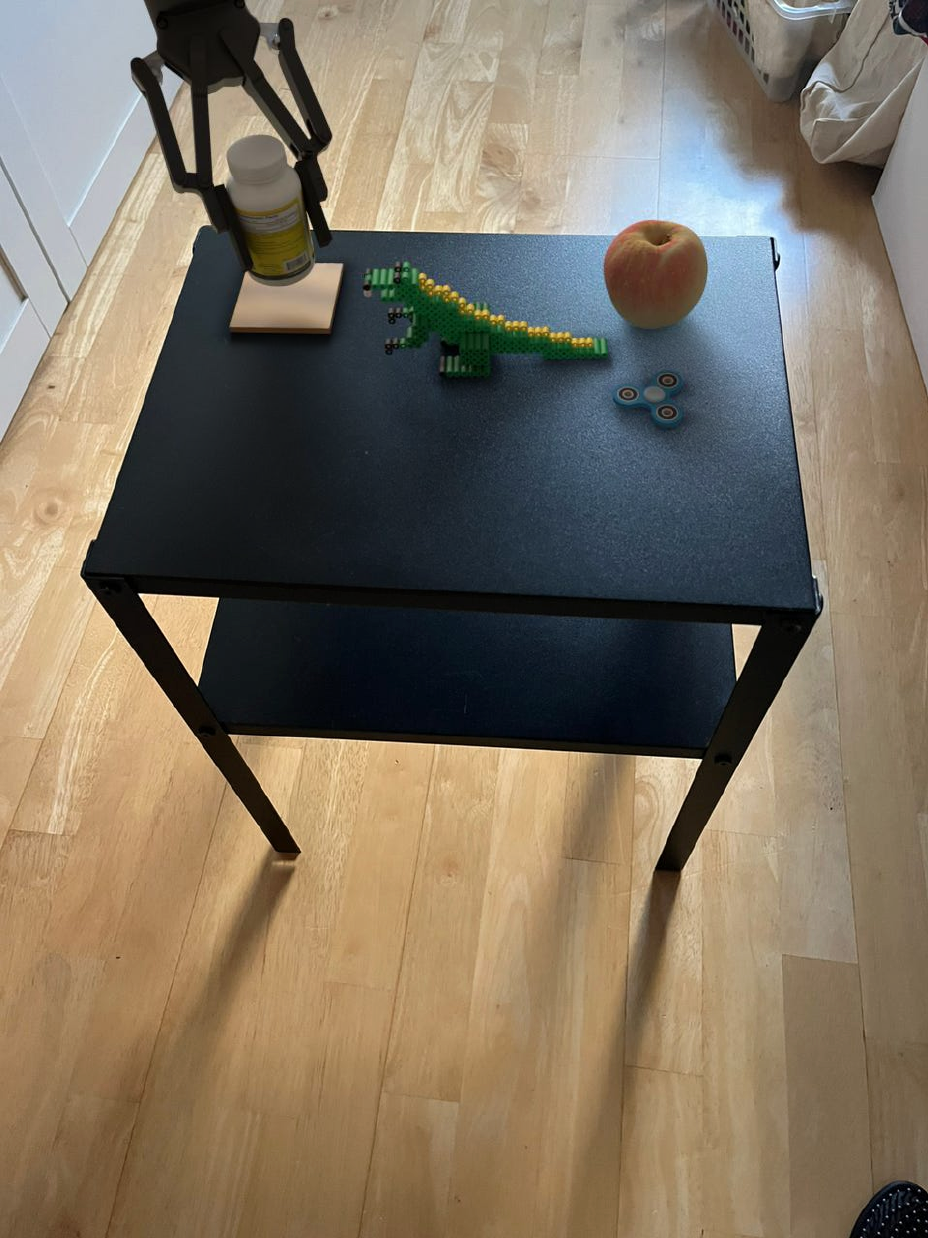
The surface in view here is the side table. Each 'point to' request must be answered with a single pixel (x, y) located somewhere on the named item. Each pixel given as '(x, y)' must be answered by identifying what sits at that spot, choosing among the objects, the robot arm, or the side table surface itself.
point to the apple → (655, 273)
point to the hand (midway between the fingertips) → (287, 255)
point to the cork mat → (289, 303)
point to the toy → (653, 397)
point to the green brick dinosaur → (466, 325)
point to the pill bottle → (270, 210)
